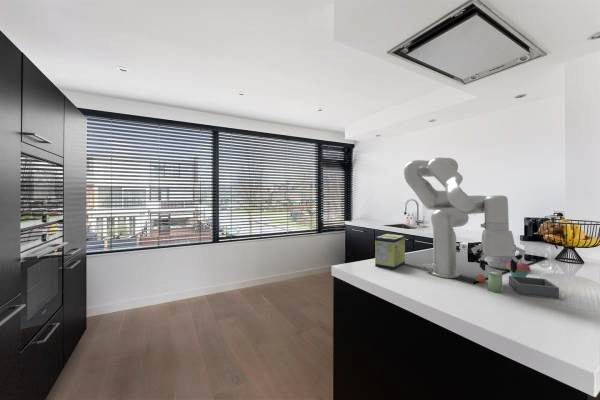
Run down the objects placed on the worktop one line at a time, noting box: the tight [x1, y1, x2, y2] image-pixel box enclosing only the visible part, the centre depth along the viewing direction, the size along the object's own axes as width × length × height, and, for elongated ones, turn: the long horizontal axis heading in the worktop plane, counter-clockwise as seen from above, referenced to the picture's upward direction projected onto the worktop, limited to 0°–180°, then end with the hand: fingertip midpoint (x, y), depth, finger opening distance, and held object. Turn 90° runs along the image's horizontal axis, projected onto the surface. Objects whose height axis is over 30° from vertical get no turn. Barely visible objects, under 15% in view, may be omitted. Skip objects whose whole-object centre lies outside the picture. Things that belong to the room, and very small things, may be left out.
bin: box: [508, 275, 560, 300], centre depth 104 cm, size 12×11×4 cm
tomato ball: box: [475, 273, 486, 283], centre depth 114 cm, size 4×4×4 cm
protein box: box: [374, 233, 406, 270], centre depth 143 cm, size 10×16×16 cm
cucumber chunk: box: [487, 271, 503, 294], centre depth 105 cm, size 4×4×7 cm
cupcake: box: [506, 258, 531, 277], centre depth 120 cm, size 9×8×12 cm
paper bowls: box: [484, 251, 519, 270], centre depth 136 cm, size 15×15×8 cm
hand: (498, 270), depth 104 cm, fingers open, 9 cm apart
